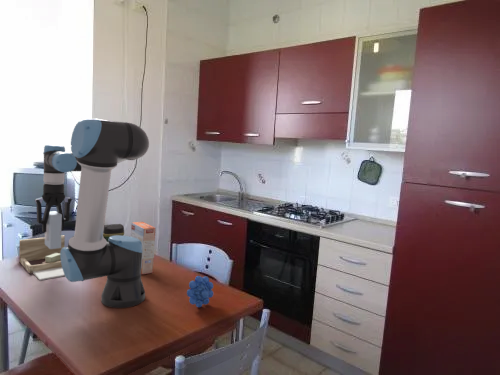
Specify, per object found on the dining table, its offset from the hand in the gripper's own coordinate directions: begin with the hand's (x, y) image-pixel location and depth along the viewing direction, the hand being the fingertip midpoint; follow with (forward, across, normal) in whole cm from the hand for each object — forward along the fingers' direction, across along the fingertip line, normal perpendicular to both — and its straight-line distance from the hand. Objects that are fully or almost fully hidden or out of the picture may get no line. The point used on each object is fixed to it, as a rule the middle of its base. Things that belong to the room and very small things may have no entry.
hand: (52, 238), depth 148 cm
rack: (+15, -2, -14) cm, 21 cm away
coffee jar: (+15, -26, -1) cm, 30 cm away
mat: (+15, 0, 0) cm, 15 cm away
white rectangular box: (+3, 0, 0) cm, 3 cm away
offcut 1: (+12, -3, -9) cm, 16 cm away
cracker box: (+15, -33, +14) cm, 39 cm away
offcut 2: (+15, -3, -8) cm, 17 cm away
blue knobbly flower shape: (+15, -32, +61) cm, 71 cm away
